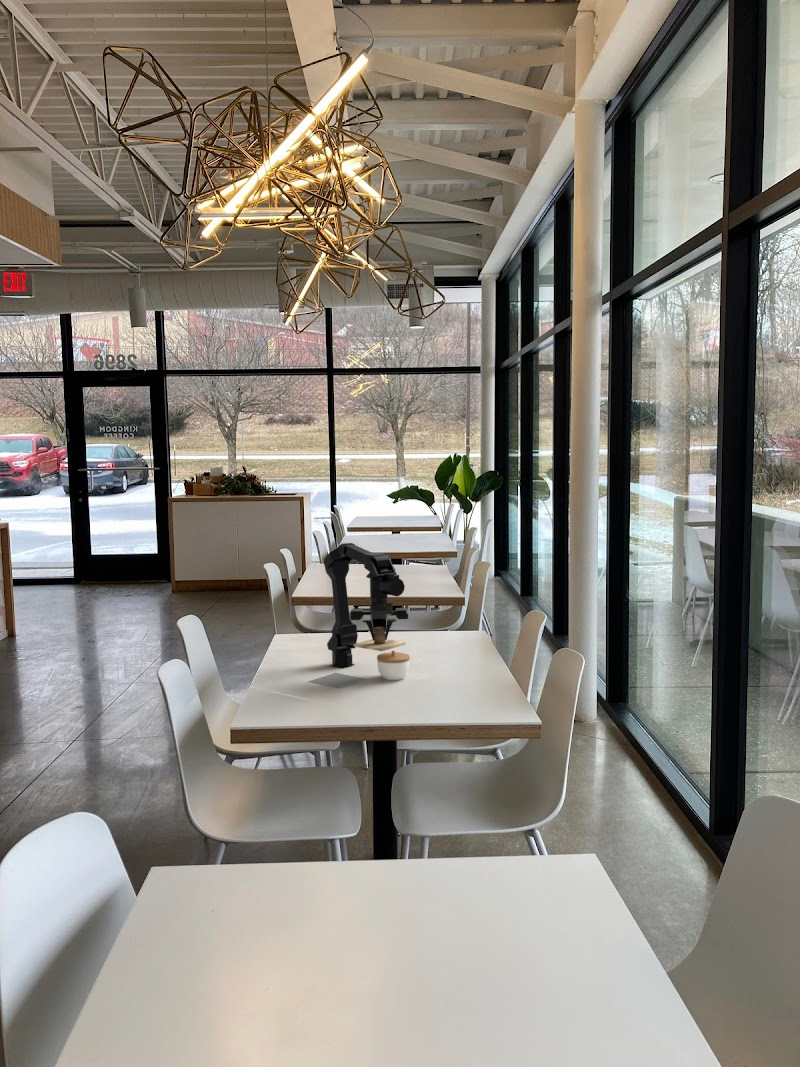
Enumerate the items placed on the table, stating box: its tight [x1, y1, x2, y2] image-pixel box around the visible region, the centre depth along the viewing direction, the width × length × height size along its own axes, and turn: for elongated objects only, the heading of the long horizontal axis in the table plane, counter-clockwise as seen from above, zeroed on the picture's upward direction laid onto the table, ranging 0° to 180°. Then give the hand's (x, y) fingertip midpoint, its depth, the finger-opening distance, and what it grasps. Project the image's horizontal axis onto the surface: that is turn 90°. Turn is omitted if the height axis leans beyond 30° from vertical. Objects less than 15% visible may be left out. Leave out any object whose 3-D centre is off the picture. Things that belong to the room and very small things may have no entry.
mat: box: [307, 672, 367, 689], centre depth 290 cm, size 14×14×1 cm
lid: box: [354, 626, 406, 652], centre depth 290 cm, size 12×12×6 cm
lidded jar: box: [376, 650, 411, 681], centre depth 292 cm, size 11×11×9 cm
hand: (379, 640), depth 290 cm, fingers closed on lid, 4 cm apart
